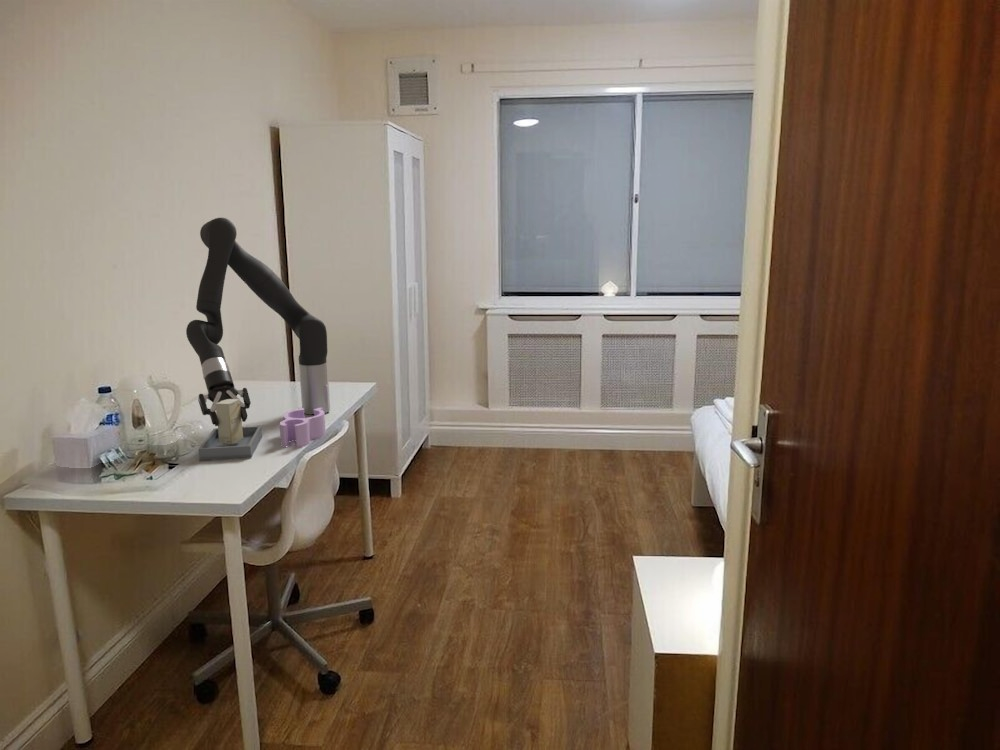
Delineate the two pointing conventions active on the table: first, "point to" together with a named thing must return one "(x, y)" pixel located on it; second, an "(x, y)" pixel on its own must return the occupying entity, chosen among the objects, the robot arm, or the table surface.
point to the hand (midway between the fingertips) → (231, 422)
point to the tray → (230, 445)
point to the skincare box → (229, 421)
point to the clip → (302, 427)
